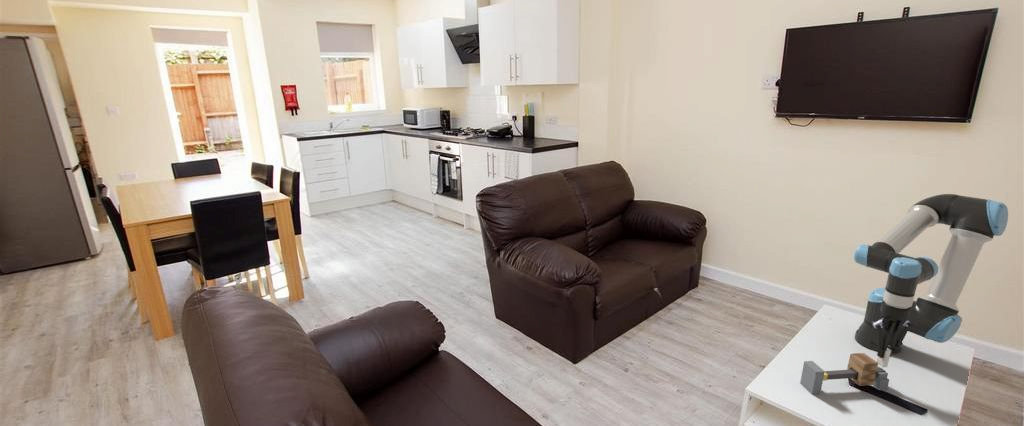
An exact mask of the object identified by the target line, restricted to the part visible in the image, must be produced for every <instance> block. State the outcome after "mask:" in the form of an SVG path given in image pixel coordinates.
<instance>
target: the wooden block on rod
mask: <svg viewBox="0 0 1024 426" xmlns="http://www.w3.org/2000/svg"><path fill="white" fill-rule="evenodd" d="M878 366H879V364H878V363H877V360H875V359H873V357H870V355H868V354H867V353H866V352H858V353H850V355H849V359H848V363H847V368H846V370H851V369H854V370H855V371H857V372H858V373H859V375H858V378H849V379H850V380H851V381H853V382H854V383H855V385H858V387H859V386H860V387H862V386H863V387H865V386H873V383H874V379H875V375H876V371H877V367H878Z"/></svg>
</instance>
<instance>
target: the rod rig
mask: <svg viewBox="0 0 1024 426" xmlns="http://www.w3.org/2000/svg"><path fill="white" fill-rule="evenodd" d="M801 371H802V372H801V376H800V377H801V378H800V381H799V382H800V383H799V384H800V385H801V386H802V387H803V388H805V390H806V391H808V392H809V394H811V395H819V394H820V395H821V392H822V387H823V382H824V381H828V380H842V379H845V380H846V379H850V378H858V375H859V373H858V372H857V371H855V370H854V369H851V370H847V369H841V370H840V369H838V370H837V369H836V370H823V368H822V367H820V366H819V365H818V364H817V363H816V362H815V361H814V360H806V361H805V360H804V361H803V366H802V370H801ZM888 375H889V373H888V372H887V371H886V370H885V369H884V368H883V367H881V366H880V365H878V367H877V371H876V375H875V379H874V383H873V385H872V387H874V388H875V387H876V388H875V389H877V388H878V389H880V390H879V391H886V390H888V386H889V383H890V379H889V378H888ZM878 389H877V390H878Z"/></svg>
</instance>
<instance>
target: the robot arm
mask: <svg viewBox="0 0 1024 426" xmlns="http://www.w3.org/2000/svg"><path fill="white" fill-rule="evenodd" d="M1008 220H1009V209H1008V207H1007V205H1006V204H1005V203H1003V202H999V201H996V200H991V199H985V198H979V197H972V196H967V195H966V196H965V195H958V194H955V193H941V194H938V195H932V196H930V197H926V198H924V199H922V200H919V201H917V202H916V203H914V204H913V205H912V206H910V208H909V209H908V211H907V213H906V215H905V216H904V217H903V218H902V219H900V220H899V221H898V222H897V223H896V224H895V225H894V226H892V227H891V228H890V229H889V230H888V231H887V232H885V233H883V235H882V236H881V237H880V238H879V239H878V240H876V241H875V242H874V243H873V244H871V245H870V244H865V243H863V244H860V245H858V246H857V248H856V249H855V251H854V254H853V255H854V258H853V259H854V262H855V263H856V264H859V265H861V266H864V267H866V268H870V269H874V270H877V271H880V272H884V273H887V274H888V275H887V278H886V279H887V280H886V284H885V287H880V288H874V289H872V290H871V291H870V293H869V296H868V299H867V305H866V310H865V313H864V317H863V318H864V319H863V322H862V323H861V324H860V326H859V327H858V329H857V330H855V333H854V340H855V341H856V342H857V343H858V344H859V345H861V346H862V347H864V348H866V349H868V350H870V351H874V352H876V356H877V360H876V362H877V363H878V366H879V367H881V368H888V364H889V361H890V358H891V357H892V355H893V354H894V355H896V354H899V353H901V352H902V350H903V347H904V344H903V341H904V340H905V338H906V335H907V334H908V332H909V333H910V334H911V333H912V334H914V335H917V336H919V337H922V338H924V339H926V340H930V341H933V342H936V343H940V344H941V343H943V344H944V343H947V342H948V341H949V340H951V339H952V338H953V337H954V336H955V335H956V333H958V331H959V329H960V328H961V324H962V321H963V317H962V316H960V315H959V312H960V310H959V307H958V306H957V303H958V300H959V298H960V296H961V295H962V294H961V293H962V292H963V289H964V288H965V285H966V283H967V281H968V278H969V276H970V274H971V272H972V270H973V268H974V266H975V263H976V261H977V259H978V257H979V255H980V252H981V251H982V249H983V246H984V244H986V243H988V242H991V241H993V239H994V237H995V236H996V237H997V236H999V237H1000V236H1003V234H1004V232H1005V231H1006V228H1007V224H1008ZM937 224H938V225H939V224H940V225H946V226H949V229H948V230H949V232H950V233H951V238H949V239H950V240H949V242H948V244H947V246H946V248H945V250H944V253H943V255H942V257H941V259H940V261H939V263H938V264H937V263H936V261H935V260H933V259H932V258H929V257H925V256H919V257H913V256H911V255H909V256H908V255H905V254H902V253H901V252H902V251H903V250H905V248H906V247H908V246H909V245H910V244H911V243H912V242H914V241H915V239H917V237H919V236H920V235H921V234H922V233H924V231H925V230H927V229H928V228H932V227H934V226H936V225H937ZM930 280H931V281H930ZM926 281H930V283H929V286H928V287H927V290H926V292H925V293H924V294H923V295H920V296H918V297H917V298H916V300H914V299H915V295H916V294H915V293H916V291H917V287H918V285H920V284H922V283H924V282H926Z"/></svg>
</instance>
